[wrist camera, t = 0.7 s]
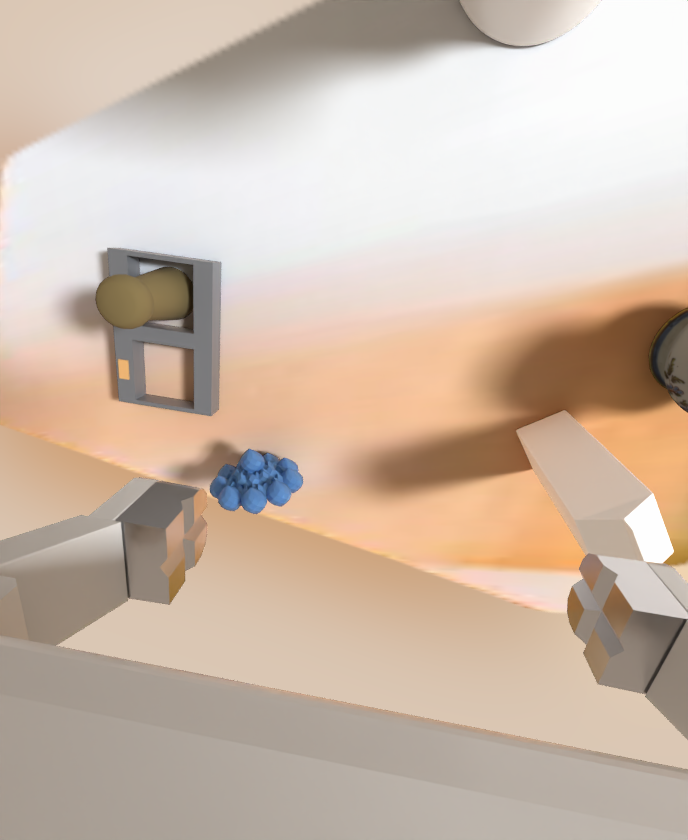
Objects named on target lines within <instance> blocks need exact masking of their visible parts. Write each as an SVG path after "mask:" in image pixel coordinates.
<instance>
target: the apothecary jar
mask: <svg viewBox="0 0 688 840" xmlns="http://www.w3.org/2000/svg"><path fill="white" fill-rule="evenodd" d="M649 364H650V370H651V372H652V374H653V376H654V378H655V379H656V381H657V382H658V383H659V384H660V385H662V386H663V387H664V388H666V389H667V390H668V392H669V394H670V396H671V397H672V399H673V400H674V401H675V402H676V403H677V404H678V405H679V406H680V407H681V408H682V409H683V410H685V411H686V412H688V308H687V309H685V310H683V311H681V312H679V313H678V314H676V315H675V316H673V317H672V318H671V319H669V320H668V321H667V322H666V323H665V324H664V325H663V326H662V328H661V329H660V330H659V332H658V333H657V335H656V336H655V338H654V340H653V342H652V345H651V348H650V352H649Z"/></svg>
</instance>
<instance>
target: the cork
mask: <svg viewBox="0 0 688 840" xmlns="http://www.w3.org/2000/svg"><path fill="white" fill-rule="evenodd" d="M96 304H97V308H98V310H99V312H100V314H101V315H102V316H103V317H104V319H105V320H106V321H108V322H109V323H110V324H112V325H113V326H116V327H118V328H121V329H134V328H137V327H140V326H143V325H144V324H145V323H146V322H147V321H148V320H179V319H182V318H185V317H186V316H188V315H189V314H190V313H191V312H192V310H193V283H192V281H191V280H190V279H189V277H188V276H187V275H186V274H185V273H183V272H182V271H181V270H179V269H176V268H173V267H162V268H159V269H157V270H154V271H151V272H148V273H145V274H143V275H140V276H137V277H132V276H129V275H127V274H116V275H112V276H110V277H107V278H106V279H104V280H103V281H102V282H101V283H100V285H99V287H98V289H97V291H96Z"/></svg>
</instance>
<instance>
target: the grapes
mask: <svg viewBox="0 0 688 840" xmlns="http://www.w3.org/2000/svg"><path fill="white" fill-rule="evenodd" d="M302 484H303V477H302V476H301V474H300V473H299V472H298V466H297V465H296V463H295V462H293V461H292V460H290V459H287V458H283V459H281V460H279V459H278V457H276V456H274V455H272V454H269V453H266V454H265V455H264V456H262V455H261V454H260V453H258V452H256V451H254V450H251V449H248V450H247V451H246V452H245V453H244V454H243V455H242V457H241V459H240V460H239V462H238V464H237V467H234V466H232V465H228V464H225V465H224V466H223V467H222V468H221V469H220V471H219V473H218V476H217V477H216V478H215V479H214V480H213V481H212V483H211V485H210V493H211V494H212V496H213V497H215V498H217V499H218V503H219V504H220V505H221V507H222V508H224V509H226V510H229V511H235V510H237V509H238V508H239V507H240V506H242V507H243V508H244V510H246V511H248V512H250V513H253V514H258V513H259V512H261V511H262V510H263V509H264V508H265V506H266V503H267V500H268V501H269V502H270V503H272V504H274V505H276V506H283V505H284V504H286V503H287V502H288V501H289V499H290V497H291V493H294V492H296V491H298V490H299V489H300V488H301V486H302Z"/></svg>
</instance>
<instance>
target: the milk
mask: <svg viewBox="0 0 688 840" xmlns="http://www.w3.org/2000/svg"><path fill="white" fill-rule="evenodd" d="M516 432H517V435H518V437H519V439H520V441H521V444H522V446H523V448H524V451H525V453H526V455H527V457H528V460H529V462H530V464H531V466H532V469H533V471H534V472H535V474H536V475H537V477H538V479H539V480H540V482H541V484H542V485H543V487H544V488H545V490H546V492H547V493H548V495H549V496H550V498H551V500H552V501H553V503H554V505H555V506H556V508H557V509H558V511H559V513H560V514H561V516H562V518H563V519H564V521H565V522H566V524H567V526H568V527H569V529H570V531H571V532H572V534H573V535H574V537H575V539H576V540H577V542H578V544H579V545H580V547H581V548H582V550H583V552H584V553H585V555H586V556H587V554H588V553H590V554H596V555H603V556H610V557H617V558H624V559H630V560H637V561H647V562H655V563H663V562H664V561H665V560H666V559H667V558H668V557H669V556H670V555H671V554H672V553H673V552H674V551H673V548H672V545H671V542H670V539H669V536H668V534H667V531H666V528H665V525H664V522H663V520H662V517H661V514H660V511H659V508H658V506H657V503H656V500H655V497H654V494H653V493H652V492H651V491H650V490H649V489H648V488H647V487H646V486H645V485H644V484H643V483H642V482H641V481H640V480H639V479H637V478H636V477H635V476H634V475H633V474H632V473H631V472H630V471H629V470H628V469H627V468H626V467H625V466H624V465H623V464H622V463H621V462H620V461H619V460H617V459H616V458H615V457H614V456H613V455H612V454H611V453H610V452H609V451H608V450H607V449H606V448H605V447H604V446H603V445H602V444H601V443H600V442H599V441H597V440H596V439H595V438H594V437H593V436H592V435H591V434H590V433H589V432H588V431H587V430H586V429H585V428H584V427H583V426H582V425H581V424H580V423H578V422H577V421H576V420H575V419H574V418H573V417H572V416H571V415H570V414H569V413H568V412H567V411H566V410H563V411H561V412H558V413H556V414H554V415H551V416H549V417H546V418H544V419H541V420H539V421H536V422H534V423H532V424H529V425H527V426H524V427H522V428H519V429H517V430H516Z"/></svg>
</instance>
